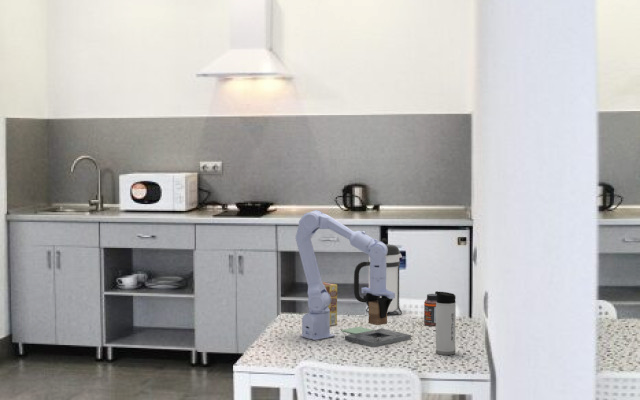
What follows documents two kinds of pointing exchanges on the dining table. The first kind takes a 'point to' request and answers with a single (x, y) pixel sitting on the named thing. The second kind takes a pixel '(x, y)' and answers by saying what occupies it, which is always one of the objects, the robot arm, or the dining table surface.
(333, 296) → the candy box
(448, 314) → the travel mug
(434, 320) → the supplement bottle
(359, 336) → the grey plate with hole
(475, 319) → the dining table surface
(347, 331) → the pad
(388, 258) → the coffee press
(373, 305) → the plug
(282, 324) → the dining table surface
